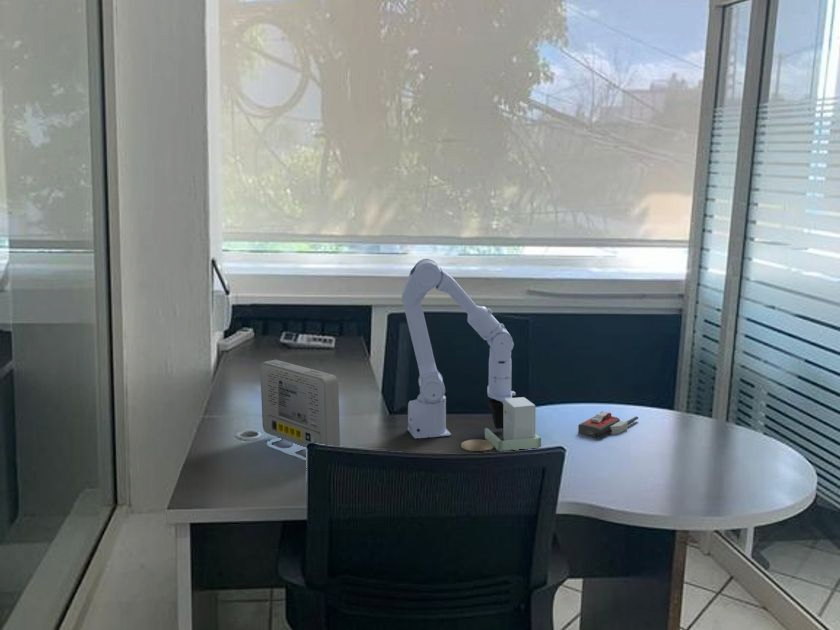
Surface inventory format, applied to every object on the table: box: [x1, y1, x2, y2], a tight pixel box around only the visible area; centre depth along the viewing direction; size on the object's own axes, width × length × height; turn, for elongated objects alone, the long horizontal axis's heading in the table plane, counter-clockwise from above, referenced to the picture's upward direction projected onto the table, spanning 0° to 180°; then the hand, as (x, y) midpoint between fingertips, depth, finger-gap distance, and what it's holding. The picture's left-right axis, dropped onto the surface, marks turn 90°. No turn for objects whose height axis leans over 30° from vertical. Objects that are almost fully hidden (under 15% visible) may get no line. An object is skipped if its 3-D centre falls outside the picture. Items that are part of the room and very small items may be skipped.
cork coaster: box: [460, 439, 495, 452], centre depth 210 cm, size 8×8×1 cm
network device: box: [259, 359, 341, 447], centre depth 208 cm, size 26×9×20 cm, turn 45°
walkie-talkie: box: [577, 411, 639, 439], centre depth 223 cm, size 9×4×20 cm
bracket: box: [484, 427, 542, 452], centre depth 212 cm, size 11×11×2 cm
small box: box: [502, 396, 536, 440], centre depth 212 cm, size 8×6×10 cm
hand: (499, 427), depth 221 cm, fingers closed
